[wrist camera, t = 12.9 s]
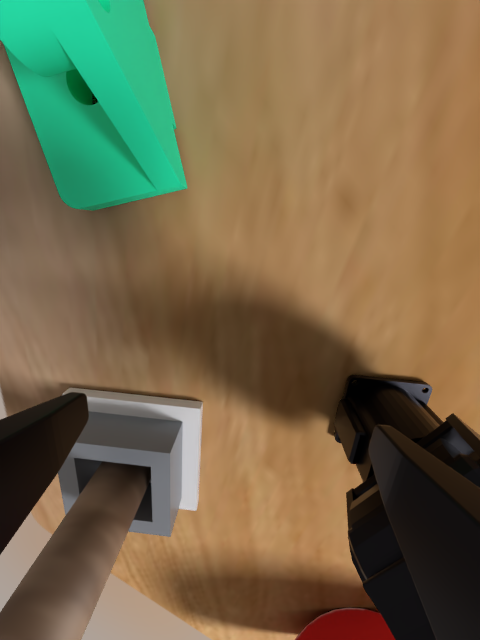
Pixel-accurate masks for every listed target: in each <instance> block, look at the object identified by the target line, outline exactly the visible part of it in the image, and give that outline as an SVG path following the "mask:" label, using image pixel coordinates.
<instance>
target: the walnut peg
mask: <svg viewBox="0 0 480 640" xmlns="http://www.w3.org/2000/svg"><path fill="white" fill-rule="evenodd" d="M150 480H151V467H148V466H140V465H131V464H123V463H114V462H106V461H102V463H101V464H100V466H99V467H98V469H97V470H96V472H95V473H94V475H93V476H92V477H91V479H90V480H89V482H88V483H87V485H86V486H85V488H84V489H83V491H82V492H81V494H80V495H79V497H78V498H77V500H76V501H75V503H74V504H73V506H72V507H71V509H70V510H69V511H68V513H67V514H66V516H65V517H64V519H63V520H62V522H61V523H60V525H59V526H58V528H57V529H56V531H55V532H54V534H53V535H52V537H51V538H50V540H49V541H48V543H47V544H46V546H45V547H44V549H43V550H42V552H41V553H40V554H39V556H38V557H37V559H36V560H35V562H34V563H33V565H32V566H31V568H30V569H29V571H28V572H27V574H26V575H25V577H24V578H23V580H22V581H21V583H20V584H19V585H18V587H17V588H16V590H15V592H14V593H13V594H12V596H11V597H10V599H9V600H8V602H7V603H6V605H5V606H4V608H3V609H2V611H1V612H0V640H81V639H82V636H83V634H84V632H85V630H86V627H87V625H88V623H89V620H90V618H91V616H92V614H93V611H94V609H95V607H96V604H97V602H98V600H99V597H100V595H101V593H102V590H103V588H104V586H105V583H106V581H107V579H108V577H109V574H110V572H111V570H112V567H113V565H114V563H115V561H116V558H117V556H118V554H119V551H120V549H121V547H122V544H123V542H124V540H125V537H126V535H127V533H128V531H129V528H130V526H131V524H132V521H133V519H134V517H135V514H136V512H137V510H138V508H139V505H140V503H141V501H142V498H143V496H144V494H145V491H146V489H147V487H148V484H149V482H150Z"/></svg>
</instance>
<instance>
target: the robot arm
mask: <svg viewBox="0 0 480 640" xmlns="http://www.w3.org/2000/svg"><path fill="white" fill-rule="evenodd" d="M354 380H357V381H356V382H355V383H352V382H353V381H354ZM423 388H425V389H424V390H422V389H423ZM431 392H432V387H431V386H430V385H429V384H427V383H426V382H418V381H408V380H399V379H389V378H379V377H369V376H360V375H352V376H350V377H349V378H348V379H347V383H346V387H345V391H344V396H343V398H342V399H341V400H340V401H339V405H338V409H337V413H336V418H335V422H334V425H335V428H336V429H335V433H334V437H335V440H336V441H337V442H338V443H342V446H343V448H344V451H345V453H346V456H347V458H348V461H349V462H350V463H351V464H356V466H357V468H358V471H359V473H360V475H361V478H362V480H363V483H362V484H360V485H359V486H358V487H356V488H355V489H353V488H352V489H351V490H349V491H348V492H347V493H346V498H347V515H348V539H349V546H350V552H351V556H352V561H353V564H354V565H355V567H356V570H357V572H358V574H359V576H360V578H361V580H362V582H363V587H364V589H365V591H366V593H367V594H368V595H369V597H370V598H371V600H372V601H373V603H374V604H375V606H376V607H377V609H378V610H379V612H380V613H381V615H382V617H383V619H384V620H385V622H386V624H387V626H388V627H389V629H390V631H391V633H392V635H393V636H394V638H395V640H480V435H479V434H477V433H476V432H475V431H474V430H473V429H471V428H470V427H469V426H468V425H467V424H465V423H464V422H463V421H462V420H461V419H459V418H458V417H457V416H456V415H454V414H453V413H452V414H451V415H450V416H448V417H447V418H446V420H447V421H445V422H443V421H442V420H441V419H440V418H439V417H438V416H437V415H436V414H435V413H434V412H433V411H432V410H431V409H430V408H429V407H428V406H427V403H428V400H429V398H430V395H431ZM88 419H89V411H88V402H87V396H86V394H84V393H79V392H70V393H67V394H65V395H62V396H60V397H57V398H54V399H52V400H49V401H47V402H44V403H42V404H39V405H37V406H34V407H32V408H29V409H27V410H24V411H21V412H19V413H16V414H14V415H11V416H9V417H6V418H4V419H1V420H0V554H1V553H2V551H3V550H4V549H5V547H6V546H7V544H8V543H9V541H10V540H11V539H12V537H13V536H14V534H15V533H16V532H17V530H18V529H19V527H20V526H21V524H22V523H23V521H24V520H25V519H26V517H27V516H28V514H29V513H30V512H31V510H32V509H33V507H34V506H35V505H36V503H37V502H38V500H39V499H40V497H41V496H42V495H43V493H44V492H45V490H46V489H47V487H48V486H49V485H50V483H51V482H52V480H53V479H54V478H55V476H56V475H57V473H58V472H59V470H60V469H61V467H62V465H63V464H64V462H65V460H66V459H67V457H68V455H69V453H70V452H71V450H72V448H73V446H74V445H75V443H76V441H77V440H78V438H79V436H80V434H81V433H82V431H83V429H84V427H85V426H86V424H87V422H88Z"/></svg>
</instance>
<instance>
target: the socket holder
mask: <svg viewBox="0 0 480 640" xmlns="http://www.w3.org/2000/svg"><path fill="white" fill-rule="evenodd" d="M70 392H79V393H84V394H86V396H87V402H88V411H89V419H88V422H87V424H86V426H85V427H84V429H83V431H82V433H81V434H80V436H79V438H78V440H77V441H76V443H75V445H74V446H73V448H72V450H71V452H70V453H69V455H68V457H67V459H66V460H65V462H64V464H63V465H62V467H61V469H60V470H59V472H58V475H59V481H60V487H61V492H62V498H63V503H64V509H65V514H67V513H68V511H69V510H70V509H71V507H72V506H73V504H74V503H75V501H76V500H77V498H78V497H79V495H80V494H81V492H82V491H83V489H84V488H85V486H86V485H87V483H88V482H89V480H90V479H91V477H92V476H93V475H94V473H95V472H96V470H97V469H98V467H99V466H100V464H101V463H102V461H106V462H114V463H123V464H131V465H140V466H148V467H151V480H150V482H149V484H148V487H147V489H146V491H145V494H144V496H143V498H142V501H141V503H140V505H139V508H138V510H137V512H136V514H135V517H134V519H133V521H132V524H131V526H130V528H129V532H137V533H145V534H153V535H160V536H168V537H171V533H172V530H173V526H174V523H175V519H176V516H177V512H178V509H186V510H194V511H196V510H197V506H198V501H199V478H200V455H201V432H202V409H203V402H200V401H191V400H181V399H172V398H163V397H154V396H144V395H135V394H126V393H117V392H107V391H98V390H89V389H80V388H69V389H67V390H66V391H65V392H64V393H63V394H62V395H65V394H67V393H70Z"/></svg>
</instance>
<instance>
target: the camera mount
mask: <svg viewBox="0 0 480 640" xmlns="http://www.w3.org/2000/svg"><path fill="white" fill-rule="evenodd" d="M0 40H1V41H2V42H3V44H4V47H5V50H6V52H7V55H8V58H9V60H10V63H11V66H12V68H13V71H14V74H15V77H16V79H17V82H18V85H19V87H20V90H21V93H22V96H23V98H24V101H25V104H26V106H27V109H28V112H29V114H30V117H31V120H32V123H33V125H34V128H35V131H36V133H37V136H38V139H39V141H40V144H41V147H42V150H43V152H44V155H45V158H46V160H47V163H48V166H49V169H50V171H51V174H52V177H53V179H54V182H55V185H56V187H57V190H58V193H59V195H60V197H61V199H62V200H63V202H64V203H65V204H67V205H68V206H70V207H72V208H75V209H83V210H98V209H102V208H106V207H111V206H115V205H119V204H123V203H128V202H132V201H136V200H140V199H145V198H149V197H153V196H157V195H162V194H166V193H170V192H174V191H178V190H183V189H187V184H186V180H185V176H184V171H183V167H182V163H181V159H180V154H179V150H178V146H177V142H176V137H175V133H174V129H176V124H175V120H174V116H173V111H172V107H171V103H170V99H169V94H168V90H167V86H166V81H165V77H164V73H163V68H162V64H161V60H160V56H159V51H158V47H157V43H156V38H155V35H154V34H153V32H152V30H151V28H150V26H149V23H148V18H147V14H146V10H145V6H144V1H143V0H0ZM93 94H94V96H95V97H96V99H97V100H98V102H97V103H96V104H94V105H93V102H92V95H93Z"/></svg>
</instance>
